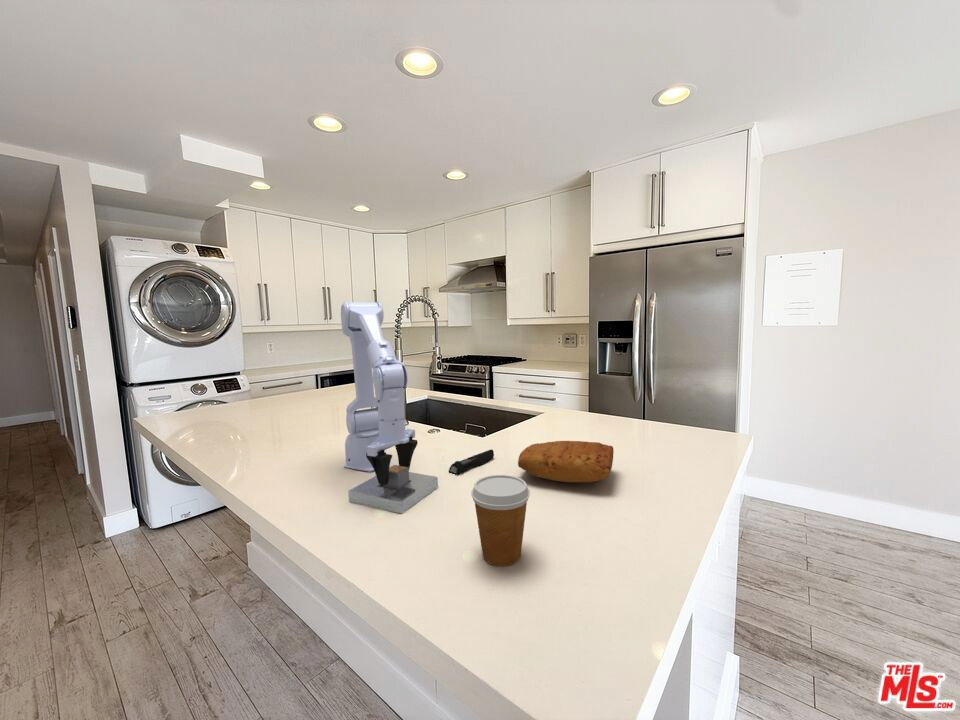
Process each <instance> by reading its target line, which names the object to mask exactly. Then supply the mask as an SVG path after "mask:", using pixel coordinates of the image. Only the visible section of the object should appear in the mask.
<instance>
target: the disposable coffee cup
mask: <svg viewBox="0 0 960 720" xmlns="http://www.w3.org/2000/svg"><path fill="white" fill-rule="evenodd" d="M470 493H471V495H470V496H471V498H472V500H473V502H474V507H475V512H476V519H477V525H478V534H479V539H480V547H481V552H482V554H481V555H482V557H483V560H484V561H485V562H486V563H488V564H490V565H493V566H496V567H507V566H512V565H514V564H516V563H518V561H519V560H520V559H521V556H522V549H523V548H522V547H523V540H524V539H523V537H524V530H525V529H524V528H525V521H526V512H527V505H528V503H527V502H528V501H529V499H530V495H531V492H530V490H529V489H528V484H527V482H526V481H525V480H524V479H522V478H520V477H518V476H515V475H509V474H491V475H486V476H484V477H481V478H478V480H476V481H475V483H474V485H473V488H472V490H471V492H470Z"/></svg>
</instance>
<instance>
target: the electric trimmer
mask: <svg viewBox="0 0 960 720" xmlns="http://www.w3.org/2000/svg"><path fill="white" fill-rule="evenodd" d="M494 457H495V453H494V450H493V449H492V448H490V449H487V450H486V451H483V452H480V453H478V454H475V455H472V456H470V457H467V458H463V459H462V460H456V461H455V462H454V463H452V464H451V465H450V467H449V469H448V473H449V474H450V473H452V474H451V475H453V474H455V475H454V476H456V475H457V476H460V475H462V473H463V472H465V471H467V470H470V469H472V468H474V467H480V466H482V465H484V464H485V463H487V462H489V461H490V460H492V459H493V458H494Z"/></svg>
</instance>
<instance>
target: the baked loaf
mask: <svg viewBox="0 0 960 720" xmlns="http://www.w3.org/2000/svg"><path fill="white" fill-rule="evenodd" d="M613 463H614V447H613V445H608V444H605V443H604V444H603V443H602V442H596V441H583V440H582V441H580V440H555V441H548V442H542V443H541V442H540V443H538V442H537V443H533V444H530V445H528V446H527V447H525V448H524V449H523V450H522V451H521V452H520V453H519V455H518V461H517V465H518V467H519V468H521V470H524V471H525V472H527V473H528V474H529V475H533V476H534V477H536V478H537V477H539V478H542V479H546V480H551V481H555V482H564V483H594V482H597V481H602V480H606V479H607V478H608V477H609V476H610V473H611V471H612V469H613Z"/></svg>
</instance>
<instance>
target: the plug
mask: <svg viewBox="0 0 960 720" xmlns="http://www.w3.org/2000/svg"><path fill="white" fill-rule="evenodd" d="M409 472H410V469H409V467H404V466H399V464H398V465H397V464H393V465H391V466H389V481H388V484H387V485H384V488H388V489H393V490H398V489H400V488H402V487H403V486H405V485H406V484H408V483H409Z"/></svg>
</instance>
